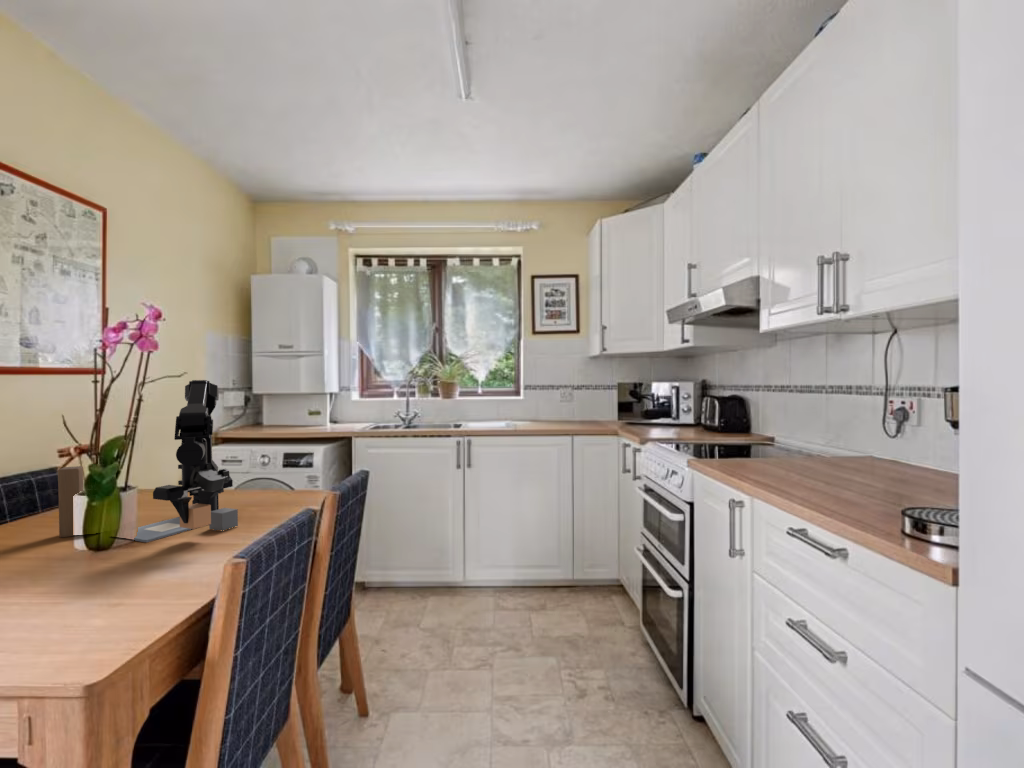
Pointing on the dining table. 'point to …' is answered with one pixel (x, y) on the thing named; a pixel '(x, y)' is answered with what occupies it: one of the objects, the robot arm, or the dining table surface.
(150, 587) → the dining table surface
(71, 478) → the wooden block
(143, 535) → the board
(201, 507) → the terracotta cube
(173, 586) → the dining table surface
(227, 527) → the charcoal cube
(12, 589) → the dining table surface
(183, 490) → the robot arm
